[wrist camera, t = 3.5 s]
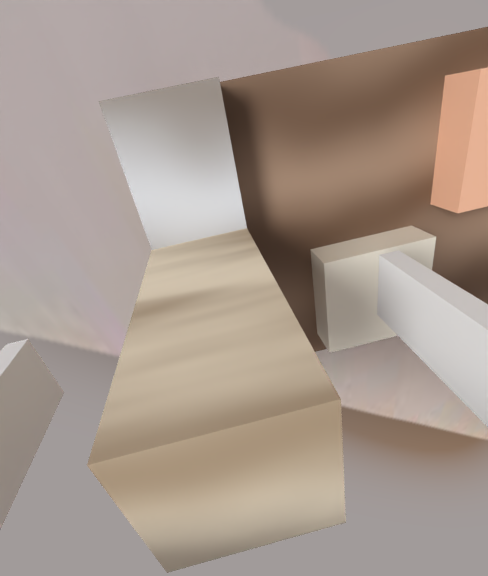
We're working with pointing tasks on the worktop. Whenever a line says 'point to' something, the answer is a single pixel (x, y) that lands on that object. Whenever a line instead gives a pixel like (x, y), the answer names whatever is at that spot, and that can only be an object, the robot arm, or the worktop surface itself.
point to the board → (351, 160)
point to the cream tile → (359, 284)
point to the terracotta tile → (462, 143)
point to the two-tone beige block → (210, 356)
